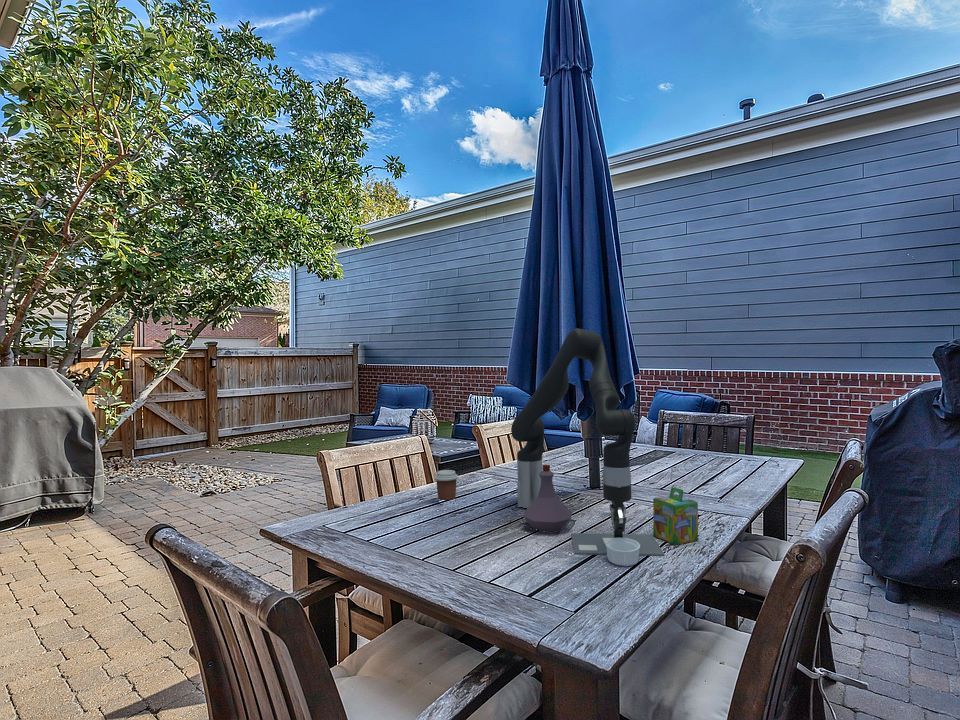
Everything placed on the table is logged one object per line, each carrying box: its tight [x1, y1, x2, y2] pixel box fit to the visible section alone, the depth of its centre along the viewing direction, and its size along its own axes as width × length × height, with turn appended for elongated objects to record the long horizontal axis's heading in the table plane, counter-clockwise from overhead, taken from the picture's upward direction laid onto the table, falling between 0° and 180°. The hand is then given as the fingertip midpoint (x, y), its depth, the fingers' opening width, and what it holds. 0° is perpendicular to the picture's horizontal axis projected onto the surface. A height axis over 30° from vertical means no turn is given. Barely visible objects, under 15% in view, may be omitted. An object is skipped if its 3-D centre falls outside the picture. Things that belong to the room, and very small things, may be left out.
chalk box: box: [652, 486, 699, 546], centre depth 150 cm, size 9×9×15 cm
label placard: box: [570, 532, 666, 557], centre depth 146 cm, size 24×16×1 cm, turn 83°
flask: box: [522, 464, 573, 533], centre depth 162 cm, size 16×16×20 cm
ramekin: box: [605, 538, 640, 567], centre depth 134 cm, size 9×9×4 cm
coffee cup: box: [433, 469, 459, 501], centre depth 194 cm, size 9×9×12 cm
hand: (618, 544), depth 140 cm, fingers closed
